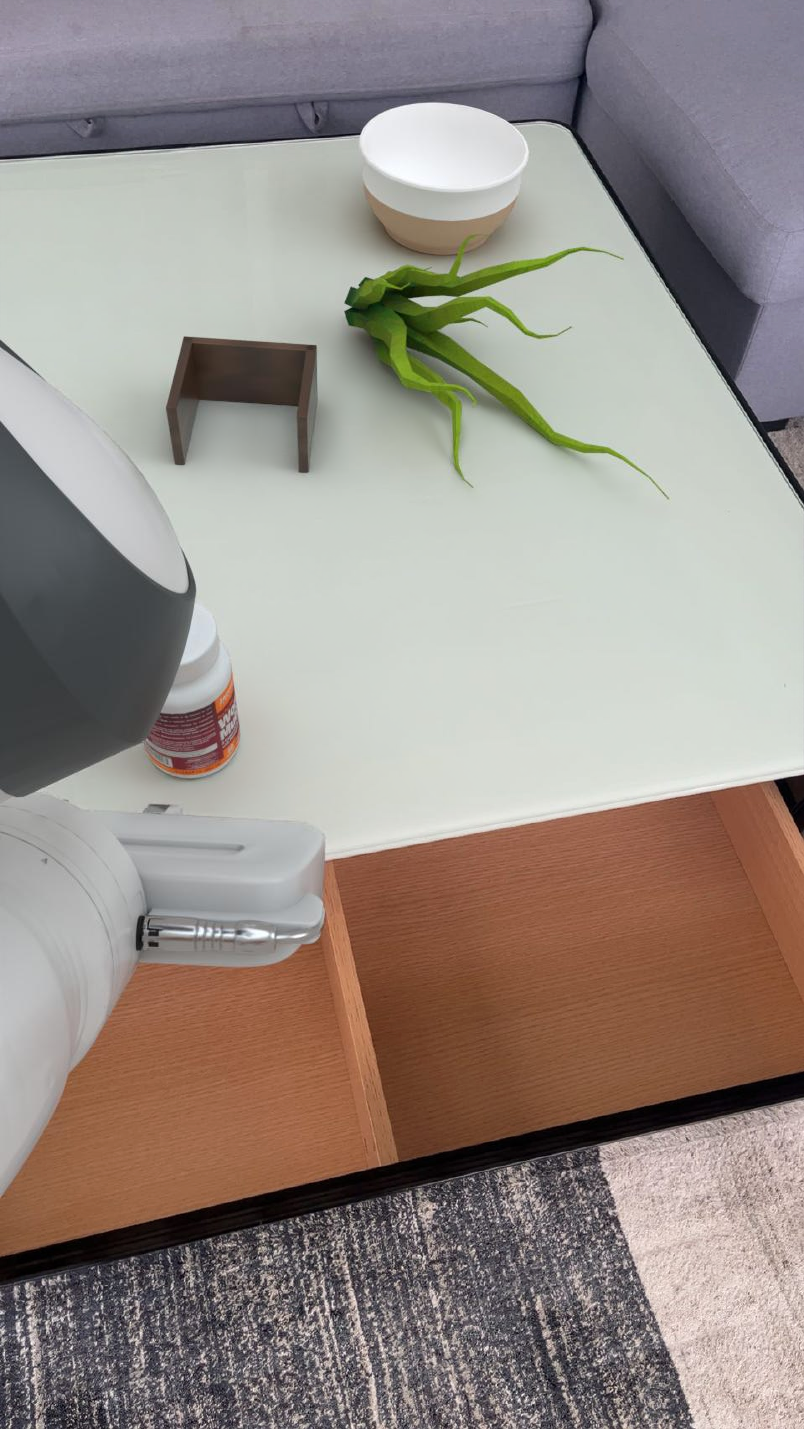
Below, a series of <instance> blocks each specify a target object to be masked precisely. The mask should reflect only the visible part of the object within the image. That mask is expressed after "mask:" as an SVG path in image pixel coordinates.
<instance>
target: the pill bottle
mask: <svg viewBox="0 0 804 1429" xmlns="http://www.w3.org/2000/svg"><path fill="white" fill-rule="evenodd" d="M230 656H231V655H230V653H229V651H228V649H227V647H226V645H225V644H224V643H223V642H222V640H221V639H220V638H219V632H218V626H217V622H216V619H215V617H214V616H213V614H212V612H211V611H210V610H209V609H208V608H207V607H205V605H203V604H202V603H200V602H197V601H196V600H195V604H194V610H193V616H192V621H191V626H190V631H189V635H188V638H187V642H186V646H185V650H184V653H183V656H182V660H181V663H180V666H179V669H178V671H177V674H176V677H175V679H174V682H173V685H172V687H171V689H170V692H169V694H168V697H167V699H166V701H165V704H164V706H163V708H162V710H161V712H160V714H159V716H158V719H157V720H156V722H155V724H154V726H153V728H152V730H151V732H150V734H149V736H148V737H147V739H145V740H144V741H143V744H144V748H145V751H146V754H147V756H148V758H149V760H150V761H151V762H152V764H153V765H154V766H155V767H156V768H157V769H159V770H160V771H162V772H163V773H165V774H168V775H170V776H172V777H176V778H181V779H198V778H203V777H208V776H210V775H212V774H214V773H217V772H219V771H220V770H221V769H223V768H224V767H226V766H227V765H228V764H229V763H230V762H231V761H232V759H233V758H234V756H235V755H236V753H237V751H238V748H239V746H240V741H241V728H240V720H239V712H238V705H237V697H236V690H235V683H234V675H233V673H234V672H233V666H232V661H231V657H230Z"/></svg>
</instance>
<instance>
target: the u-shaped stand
mask: <svg viewBox="0 0 804 1429" xmlns="http://www.w3.org/2000/svg"><path fill="white" fill-rule="evenodd" d="M317 348H318V346H317V344H305V343H291V342H277V341H276V342H275V341H260V340H259V341H258V340H247V339H230V338H215V337H201V336H200V337H199V336H187V335H184V336H183V337H182V341H181V345H180V351H179V354H178V359H177V361H176V367H175V370H174V375H173V378H172V382H171V386H170V389H169V394H168V398H167V402H166V406H165V410H166V411H165V412H166V418H167V423H168V428H169V429H168V430H169V436H170V443H171V449H172V456H173V461H174V462H173V463H174V464H175V465H186V460H187V455H188V452H189V446H190V441H191V437H192V433H193V429H194V424H195V419H196V415H197V410H198V406H199V401H200V400H204V401H205V400H206V401H218V402H219V401H223V402H235V403H236V402H238V403H253V404H265V405H279V406H280V405H282V406H297V411H296V412H297V413H296V429H297V430H296V434H297V436H296V438H297V459H298V460H297V464H298V472H299V473H309V471H310V464H311V456H312V449H313V448H312V447H313V440H314V432H315V422H316V415H317V409H318V408H317V407H318V349H317Z"/></svg>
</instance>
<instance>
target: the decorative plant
mask: <svg viewBox="0 0 804 1429" xmlns="http://www.w3.org/2000/svg"><path fill="white" fill-rule="evenodd" d="M478 235H485V234H476V235H471V236H468V237H467V238H466V239H465V240H464V241H463V242H462V245H461V248H460V250H459V253H458V254H457V256H456V258H455V261H454V262H453V264H452V266H451V268H450V270H449V272H448V273H438V272H434V271H431V270H430V269H432V268H433V267H432V266H430V267H428V268H425V269H424V268H420V267H417V266H415V265H410V264H405V265H401V266H400V267H399V268H397V269H395V270H389V271H387V272H386V273H385V274H384V275H383V274H382V275H381V276H379V277H376V278H371V277H369V276H368V277H367V276H365V277H364V278H363V279H362V280H361V281H360V282H359V284H358V287H357V288H356V287H353V286H350V287H349V290H348V292H347V294H346V297H345V300H344V304H345V305H346V306H349V308H347V309H346V310H344V311H343V313H344V316H345V319H346V322H347V325H348V326H349V327H352V328H353V327H354V328H359V329H363V330H364V331H365V332H366V333H367V334H368V335H369V336H370V337H371V338H372V340H373V344H374V348H375V353H376V357H377V360H378V361H380V362H381V363H383V364H385V365H386V366H388V367H390V368H391V369H392V370H393V371H394V373H395V374H396V376H397V377H398V379H399V381H400V382H401V384H402V385H403V387H404V388H409V389H414V390H418V391H422V392H426V393H430V394H431V395H433V396H434V397H435V398H436V399H437V400H439V402H440V403H442V404H443V405H444V406H446V407H447V409H449V410H450V412H451V425H452V458H453V462H454V468H455V469H456V471H457V472H458V474H459V475H460V477H461V479H462V480H463V481H464V482H465V483H466V484H467V485H468V486H469V487H470V488H472V489H474V486H473V485H472V484H471V483H470V482H469V481H468V480H466V478H465V476H464V474H463V472H462V470H461V467H460V463H459V449H460V439H461V432H462V431H461V430H462V412H463V411H462V410H463V403H462V402H461V401H460V400H459V398H458V397H457V396H456V394H455V392H459V393H463V394H465V395H466V396H467V398H469V399H470V401H472V402H473V404H472V408H475V407H476V404H477V403H478V402H477V400H476V399H475V397H474V396H473V395H472V394H471V392H470V391H469V390H468V389H467V388H465V387H463V386H460V385H459V384H452V383H447V382H446V381H445V380H444V379H443V377H442V376H441V375H440V374H438V373H437V372H435V371H434V370H433V369H431V368H429V367H428V366H427V365H426V364H424V363H423V362H422V361H420V360H419V359H417V358H416V357H414V356H413V355H412V354H411V353H409V352H407V349H410V350H413V351H416V352H418V353H422V354H424V355H427V356H430V357H432V358H435V359H438V360H440V361H442V362H443V363H444V364H446V365H448V366H450V367H452V368H453V369H454V370H457V371H458V372H460V373H462V374H463V375H466V376H467V377H468V378H470V379H471V380H472V381H474V382H475V383H476V384H477V385H479V386H480V387H481V388H482V389H484V390H485V391H486V392H487V393H488V394H490V395H491V396H493V397H494V398H495V399H496V400H498V401H499V402H500V403H501V404H503V405H504V406H505V407H506V408H508V409H509V410H510V411H512V412H513V413H514V414H516V416H518V417H519V418H520V419H522V420H523V421H524V422H526V424H528V425H529V426H530V427H532V428H533V429H534V430H536V431H537V432H538V433H539V434H541V436H543V437H544V438H546V439H547V440H548V441H549V442H550V443H552V444H555V445H557V446H560V447H564V448H566V449H569V450H572V451H576V452H579V453H582V454H609V455H611V456H613V457H615V458H618V459H619V460H621V461H623V462H625V463H626V464H628V465H629V466H630V467H632V468H633V469H635V470H636V471H638V472H639V473H641V474H642V475H644V476H645V477H647V478H648V479H649V480H650V481H651V482H652V483H653V484H654V485H655V487H656V488H657V489H658V490H659V491H660V492H661V493H662V494H663V496H664V497H665V498H666V499H667V500H670V497H669V496H668V495H667V494H666V493H665V492H664V491H663V490H662V488H661V487H660V486H659V485H658V484H657V483H656V482H655V480H654V479H653V478H652V477H651V476H650V475H648V474H647V473H646V472H645V471H644V470H642V469H641V468H639V467H638V466H637V465H635V464H634V463H633V462H632V461H630V460H629V459H628V458H627V457H626V456H624V455H622V454H620V453H619V452H618V451H615V450H613V449H612V448H610V447H608V446H603V445H596V444H590V443H585V442H582V441H579V440H577V439H575V438H571V437H569V436H566V435H564V434H562V433H558V432H557V431H556V432H555V430H554V429H553V428H552V427H551V425H550V424H549V423H548V421H546V420H545V418H544V417H543V416H542V415H541V414H540V413H539V411H538V410H537V409H536V408H535V407H534V406H533V405H532V403H531V402H530V401H529V400H528V398H527V397H526V396H525V395H524V393H522V392H521V390H520V389H518V388H517V387H515V386H514V385H513V384H512V383H510V382H509V381H507V380H506V379H505V378H503V376H500V375H499V374H498V373H497V372H495V371H493V370H492V369H491V368H489V367H488V366H486V365H485V364H484V363H483V362H481V361H480V360H479V359H477V358H476V357H475V356H473V355H472V354H471V353H470V352H468V351H467V350H466V349H465V348H464V347H462V346H461V345H460V344H458V342H456V341H455V340H453V338H451V337H450V336H448V335H446V334H445V333H443V332H441V331H440V330H442V329H443V328H445V327H446V326H449V325H453V324H462V323H467V322H474V323H478V324H481V325H483V326H484V327H486V328H489V326H488V325H486V324H485V323H483V322H482V321H480V320H478V319H475V318H473V317H466V316H469V315H471V314H473V313H475V312H477V311H480V310H483V309H484V308H487V309H490V310H491V311H493V312H495V313H496V314H498V315H500V316H502V317H503V318H505V319H507V320H508V321H509V322H510V323H511V324H513V325H514V326H515V327H516V328H517V329H518V330H519V331H521V333H522V334H523V335H525V336H528V337H530V338H531V337H532V338H535V339H538V340H542V339H548V338H556V337H558V336H560V335H562V334H563V333H565V332H567V331H568V330H571V329H572V328H573V325H571V326H568V327H567V328H566V329H563V330H562V331H560V332H558V333H557V334H538V333H537V332H536V333H535V332H533V331H531V330H529V329H528V328H526V326H525V325H524V323H522V321H521V320H520V318H519V317H518V316H517V315H516V314H515V313H514V312H513V310H512V309H510V308H509V307H507V306H506V305H504V304H503V303H501V302H500V301H498V300H497V299H495V298H493V297H492V296H489V295H487V296H465V295H467V294H471V293H473V292H476V291H479V290H481V289H484V288H487V287H489V286H492V285H494V284H498V283H500V282H502V281H505V280H508V279H510V278H513V277H516V276H520V275H524V274H527V273H529V272H530V273H531V272H533V271H538V270H540V269H545V268H547V267H549V266H551V265H553V264H555V263H556V262H558V261H561V259H563V258H565V257H567V256H568V255H572V254H575V253H577V252H581V251H584V252H594V253H605V254H607V255H610V256H612V257H615V258H617V259H620V260H622V261H624V260H625V259H624V257H621V256H619V255H616V254H613V253H611V252H608V251H606V250H602V249H597V248H592V247H586V246H579V247H572V248H567V249H565V250H562V251H558V252H557V253H554V254H551V255H548V256H546V257H541V258H531V259H521V260H513V261H510V262H505V263H500V264H497V265H493V266H487V267H485V268H481V269H478V270H476V271H473V272H470V273H468V274H465V275H462V276H458V274H459V270H460V267H461V265H462V264H461V263H462V260H463V256H464V253H465V252H464V249H465V245H466V244H467V242H468V241H469V239H470V238H473V237H475V236H478ZM485 236H489V237H492V236H491V234H490V235H485ZM425 297H452V299H451V300H449V301H447V302H444V303H443V304H440V305H438V306H423V305H421V304H420V303H417V302H416V301H413V300H412V299H417V298H425ZM453 297H454V298H453ZM453 391H455V392H453Z"/></svg>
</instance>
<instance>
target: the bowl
mask: <svg viewBox="0 0 804 1429" xmlns="http://www.w3.org/2000/svg"><path fill="white" fill-rule="evenodd" d="M358 149H359V151H360V154H361V156H362V167H361V178H362V184H363V191H364V195H365V197H366V200H367V202H368V204H369V207H370V208H371V210H372V212H373V214H374V215H375V216H376V218H377V219H378V220H379V221H380V222H381V223H382V225H383V226H384V229H385V232H386V233H387V234H388V236H389V237H390V238H391V239H392V240H394V241H395V243H397V244H400V245H401V246H403V247H404V248H407V249H409V250H412V251H415V252H418V253H422V254H428V255H435V256H448V255H449V256H451V255H458V253H459V250H460V248H461V245H462V242H463V241H464V240H465V239H466V238H467V237H468V236H471V235H476V234H485V235H491V234H492V233H493V232H495V231H496V230H497V229H498V228H499V227H501V226H502V225H503V224H504V222H505V221H506V219H507V218H508V217H509V215H510V214H511V213H512V211H513V209H514V208H515V205H516V202H517V200H518V195H519V193H520V189H521V185H522V176H523V175H522V173H523V170H524V169H525V167H526V165H527V164H528V161H529V157H530V152H529V145H528V143H527V141H526V139H525V137H524V135H523V134H522V133H521V132H520V131H519V130H518V129H517V127H515V126H514V125H513V124H511V122H508V121H507V120H506V119H503V118H502V117H500V116H498V115H496V114H494V113H491V112H489V111H486V110H483V109H481V108H477V107H476V108H475V107H473V106H469V105H463V104H457V103H451V102H450V103H449V102H417V103H411V104H405V105H400V106H396V107H394V108H389V109H387V110H385V111H382V112H381V113H378V114H377V115H376V116H374V117H372V118H371V119H370V120H369V121H368V122H367V123H366V124H365V125H364V127H363V128H362V130H361V132H360V134H359V137H358ZM485 235H478V236H475V237H473V238H470V239H469V241H468V242H467V244H466V245H465V249H464V253H467V252H470V251H473V250H475V249H477V248H479V247H481V246H482V245H483V244H484V243H485V242H486V241H487V240H488V239H489V237H490V236H485Z"/></svg>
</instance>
